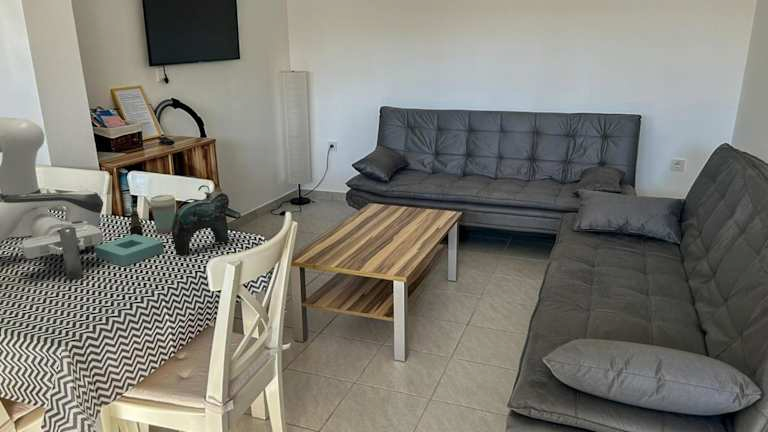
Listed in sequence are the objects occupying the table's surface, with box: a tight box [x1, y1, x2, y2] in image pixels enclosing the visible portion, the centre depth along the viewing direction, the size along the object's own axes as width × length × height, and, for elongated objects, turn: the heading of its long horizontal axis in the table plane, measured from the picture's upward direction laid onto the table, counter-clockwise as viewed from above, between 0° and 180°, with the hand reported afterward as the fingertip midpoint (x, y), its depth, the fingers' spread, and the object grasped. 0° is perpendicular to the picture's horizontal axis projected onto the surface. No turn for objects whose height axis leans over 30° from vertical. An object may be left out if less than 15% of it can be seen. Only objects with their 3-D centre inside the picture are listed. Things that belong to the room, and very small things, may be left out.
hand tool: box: [129, 209, 144, 236], centre depth 205 cm, size 19×4×5 cm, turn 21°
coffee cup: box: [149, 194, 177, 234], centre depth 200 cm, size 8×9×12 cm
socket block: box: [94, 234, 165, 268], centre depth 179 cm, size 14×14×4 cm
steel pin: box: [59, 227, 84, 281], centre depth 161 cm, size 4×4×14 cm
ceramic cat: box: [171, 184, 230, 257], centre depth 183 cm, size 20×6×20 cm, turn 141°
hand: (71, 249), depth 160 cm, fingers closed on steel pin, 4 cm apart
